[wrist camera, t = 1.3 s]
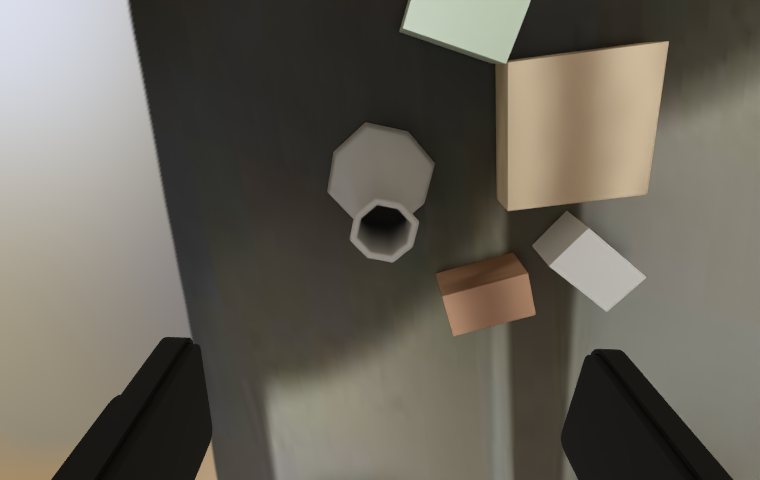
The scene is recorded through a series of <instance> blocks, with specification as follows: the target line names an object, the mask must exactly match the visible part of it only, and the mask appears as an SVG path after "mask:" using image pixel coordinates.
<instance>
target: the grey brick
mask: <svg viewBox="0 0 760 480" xmlns="http://www.w3.org/2000/svg"><path fill="white" fill-rule="evenodd" d="M532 247H533V248H534V249H535V250H536V251H537V253H538V254H539V255H540V256H541V257H542V259H543V260H544V261H545V262H546V263H547V264H548V266H549V267H551V268H552V269H553V270H554V271H556V272H557V273H558V274H559V275H561V276H562V277H563V278H565V279H566V280H567V281H568V282H570V283H571V284H572V285H573V286H575V287H576V288H577V289H578V290H580V291H581V292H582V293H584V294H585V295H586V296H587V297H589V298H590V299H591V300H592V301H594V302H595V303H596V304H597V305H599V306H600V307H601V308H602V309H604V310H605V311H606V312H607V311H608V310H610V309H611V308H612V307H613V306H614V305H615V304H616V303H618V302H619V301H620V300H621V299H622V298H623V297H625V296H626V295H627V294H628V293H629V292H630V291H632V290H633V289H634V288H635V287H636V286H637V285H638V284H640V283H641V282H642V281H643V280H644V279H645V278H647V277H646V276H644V275H643V274H642V273H641V272H640V271H639V270H637V269H636V268H635V267H634V266H633V265H632V264H630V263H629V262H628V261H627V260H626V259H625V258H623V257H622V256H621V255H620V254H619V253H618V252H616V251H615V250H614V249H613V248H612V247H611V246H609V245H608V244H607V243H606V242H605V241H604V240H602V239H601V238H600V237H599V236H598V235H597V234H595V233H594V232H593V231H592V230H591V229H590V228H588V227H587V226H586V225H585V224H583V223H582V222H581V221H579V220H578V219H577V218H576V217H574V216H573V215H572V214H571V213H569V212H568V211H566V212H565V213H564V214H563V215H562V216H561V217H560V218H559V219H558V220H557V221H556V222H555V223H554V224H553V225H552V226H551V227H550V228H549V229H548V230H547V231H546V232H545V233H544V234H543V235H542V236H541V237H540V238H539V239H538V240H537V241H536V242H535V243H534V244H533V245H532Z"/></svg>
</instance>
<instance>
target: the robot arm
mask: <svg viewBox="0 0 760 480" xmlns="http://www.w3.org/2000/svg"><path fill="white" fill-rule="evenodd" d="M211 437H212V421H211V415H210V408H209V402H208V395H207V389H206V382H205V375H204V369H203V362H202V356H201V349H200V346H199V345H198V344H193V341H192V339H191V338H179V337H165V338H163V339H162V340H161V341H160V342H159V344H158V345H157V346H156V348H155V349H154V350H153V352H152V353H151V355H150V356H149V357H148V359H147V360H146V361H145V363H144V364H143V365H142V367H141V368H140V370H139V371H138V373H137V374H136V375H135V376H134V378H133V379H132V380H131V382H130V383H129V385H128V386H127V387H126V389H125V390H124V391H123V393H122V394H121V395H118V396H116V397H115V398H113V399H112V400H111V401H110V403H109V404H108V405H107V406H106V408H105V409H104V410H103V412H102V413H101V414H100V416H99V417H98V418H97V420H96V421H95V422H94V424H93V425H92V426H91V428H90V429H89V430H88V432H87V433H86V434H85V436H84V437H83V438H82V439H81V441H80V442H79V443H78V445H77V446H76V447H75V449H74V450H73V452H72V453H71V454H70V455H69V457H68V458H67V459H66V461H65V462H64V463H63V465H62V466H61V467H60V469H59V470H58V471H57V473H56V474H55V475H54V477H53V478H52V480H195V478H196V475H197V473H198V470H199V468H200V466H201V463H202V461H203V458H204V456H205V454H206V451H207V448H208V446H209V444H210V441H211ZM561 442H562V447H563V449H564V452H565V454H566V456H567V458H568V460H569V462H570V464H571V466H572V468H573V470H574V472H575V474H576V476H577V478H578V480H733V479H732V478H731V477H730V475H729V474H728V473H727V472H726V471H725V470H724V468H723V467H722V466H721V465H720V464H719V463H718V461H717V460H716V459H715V458H714V457H713V456H712V454H711V453H710V452H709V451H708V450H707V449H706V447H705V446H704V445H703V444H702V443H701V442H700V440H699V439H698V438H697V437H696V436H695V435H694V433H693V432H692V431H691V430H690V429H689V428H688V426H687V425H686V424H685V423H684V422H683V421H682V419H681V418H680V417H679V416H678V415H677V414H676V412H675V411H674V410H673V409H672V408H671V407H670V405H669V404H668V403H667V402H666V401H665V400H664V398H663V397H662V396H661V395H660V394H659V393H658V391H657V390H656V389H655V388H654V387H653V386H652V384H651V383H650V382H649V381H648V380H647V379H646V377H645V376H644V375H643V374H642V373H641V372H640V370H639V369H638V368H637V367H636V366H635V365H634V363H633V362H632V361H631V360H630V359H629V358H628V356H627V355H626V354H625V353H624V352H623V351H621V350H614V349H595V350H594V351H593V352H592V353H591V355H587V356H586V357H585V359H584V362H583V366H582V369H581V372H580V375H579V378H578V382H577V385H576V388H575V391H574V395H573V398H572V401H571V404H570V407H569V411H568V414H567V417H566V420H565V424H564V427H563V430H562V434H561Z"/></svg>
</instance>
